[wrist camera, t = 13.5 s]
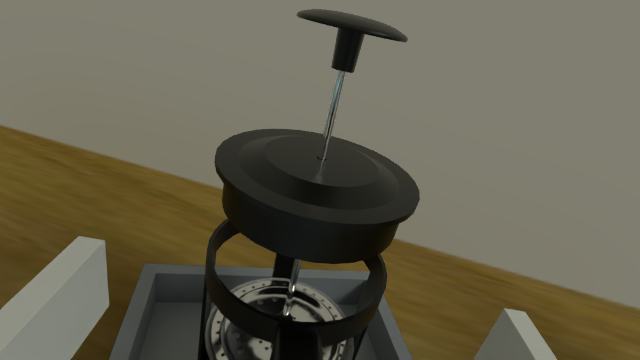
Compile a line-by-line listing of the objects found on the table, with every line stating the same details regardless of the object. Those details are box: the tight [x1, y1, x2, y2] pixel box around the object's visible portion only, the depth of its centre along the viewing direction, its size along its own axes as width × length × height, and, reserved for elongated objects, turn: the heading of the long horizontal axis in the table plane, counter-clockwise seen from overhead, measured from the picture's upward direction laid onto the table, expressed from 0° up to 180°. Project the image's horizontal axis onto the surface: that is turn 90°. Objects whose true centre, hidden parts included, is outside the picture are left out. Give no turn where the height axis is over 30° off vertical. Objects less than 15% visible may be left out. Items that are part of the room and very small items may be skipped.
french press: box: [197, 9, 420, 360], centre depth 17 cm, size 12×9×23 cm
